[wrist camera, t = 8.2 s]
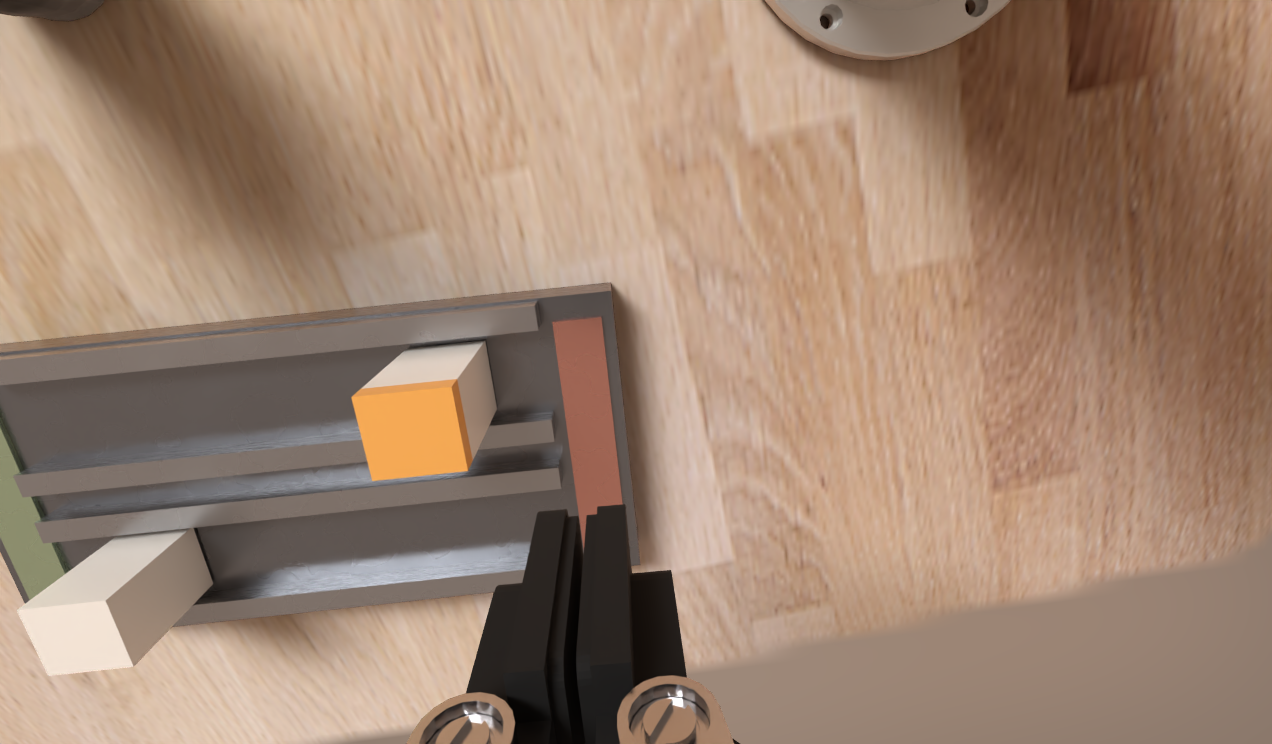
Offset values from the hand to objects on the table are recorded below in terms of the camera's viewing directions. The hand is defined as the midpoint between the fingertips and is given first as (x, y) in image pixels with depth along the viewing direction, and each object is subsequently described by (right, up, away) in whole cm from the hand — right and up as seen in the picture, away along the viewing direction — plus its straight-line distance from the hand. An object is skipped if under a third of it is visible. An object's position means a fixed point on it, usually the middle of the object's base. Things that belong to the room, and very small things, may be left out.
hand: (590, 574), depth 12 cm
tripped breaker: (-7, +4, +14) cm, 16 cm away
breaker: (-20, -5, +16) cm, 26 cm away
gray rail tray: (-14, 0, +17) cm, 22 cm away
